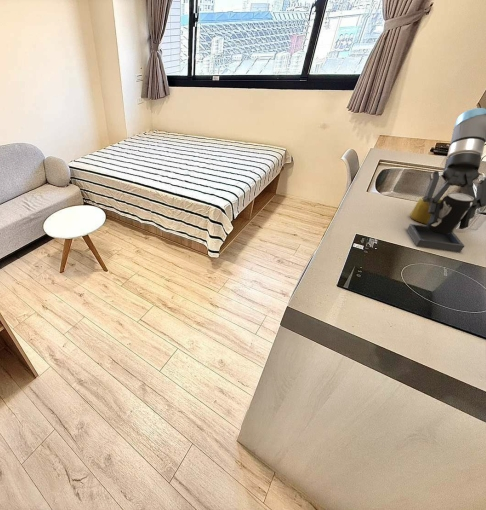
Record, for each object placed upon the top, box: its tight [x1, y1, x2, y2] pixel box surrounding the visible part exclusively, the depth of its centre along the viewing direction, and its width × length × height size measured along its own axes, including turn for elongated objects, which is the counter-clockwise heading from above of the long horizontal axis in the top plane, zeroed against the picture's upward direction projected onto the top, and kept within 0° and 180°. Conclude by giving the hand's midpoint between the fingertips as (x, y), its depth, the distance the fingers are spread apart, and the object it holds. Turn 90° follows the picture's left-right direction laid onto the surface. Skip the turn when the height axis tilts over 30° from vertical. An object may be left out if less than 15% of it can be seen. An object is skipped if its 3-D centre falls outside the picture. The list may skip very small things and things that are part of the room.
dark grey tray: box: [406, 223, 466, 254], centre depth 93 cm, size 11×11×3 cm
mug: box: [410, 196, 442, 226], centre depth 102 cm, size 12×10×10 cm
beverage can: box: [426, 192, 474, 234], centre depth 88 cm, size 7×7×12 cm
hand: (447, 225), depth 86 cm, fingers closed on beverage can, 6 cm apart
